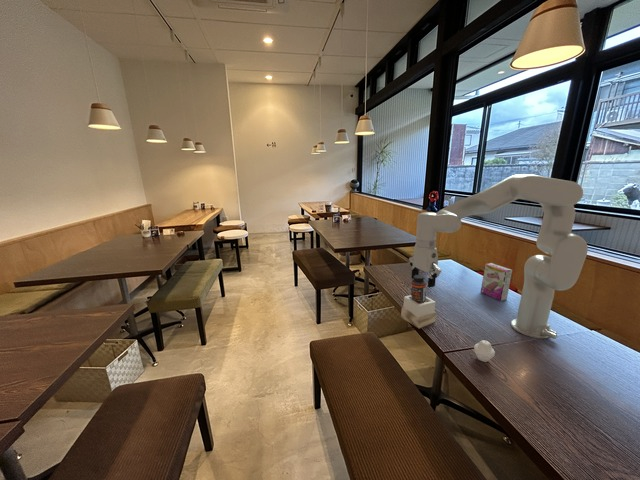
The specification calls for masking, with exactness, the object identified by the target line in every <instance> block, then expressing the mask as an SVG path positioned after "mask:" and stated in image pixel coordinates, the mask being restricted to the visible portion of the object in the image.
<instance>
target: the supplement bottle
mask: <svg viewBox="0 0 640 480" xmlns="http://www.w3.org/2000/svg"><path fill="white" fill-rule="evenodd" d="M424 277H425V276H423V275H419V274H418V275H415V276H414V278H413V279H412V281H411V284H410V295H411V299H412V300H413V301H415V302H417V303H418V304H421V303H424V302H425V301H426V297H427V296H426V295H427V282H426V281H425V280H424Z"/></svg>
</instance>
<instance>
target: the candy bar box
mask: <svg viewBox="0 0 640 480" xmlns="http://www.w3.org/2000/svg"><path fill="white" fill-rule="evenodd" d="M512 275H513V269H510V268H508V267H505V266H501V265H498V264H496V263H493V262H489V263H485V265H484V271H483V275H482V280H481V281H482V282H481V288H480V293H481V294H483V295H486V296H488V297H490V298H493V299H495V300H497V301H499V302H503V301H507V300H508V296H509V295H508V294H509V291H510V290H509V289H510V284H511V279H512Z"/></svg>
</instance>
